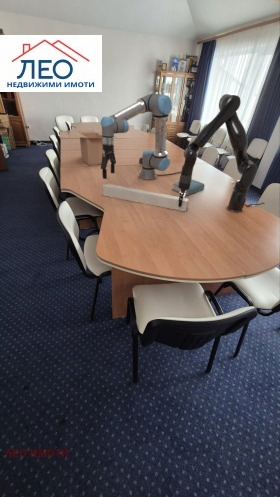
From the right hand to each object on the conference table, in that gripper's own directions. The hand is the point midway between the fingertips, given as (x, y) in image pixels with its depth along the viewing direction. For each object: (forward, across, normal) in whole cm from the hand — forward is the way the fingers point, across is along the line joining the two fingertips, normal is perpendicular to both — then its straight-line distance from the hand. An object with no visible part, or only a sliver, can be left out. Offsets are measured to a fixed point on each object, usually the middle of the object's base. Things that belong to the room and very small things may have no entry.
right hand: (180, 203), depth 154 cm
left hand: (-11, 0, +55) cm, 56 cm away
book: (+4, +39, 0) cm, 39 cm away
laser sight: (+4, +94, +50) cm, 106 cm away
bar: (+4, 0, +27) cm, 27 cm away
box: (+4, +74, +107) cm, 130 cm away
